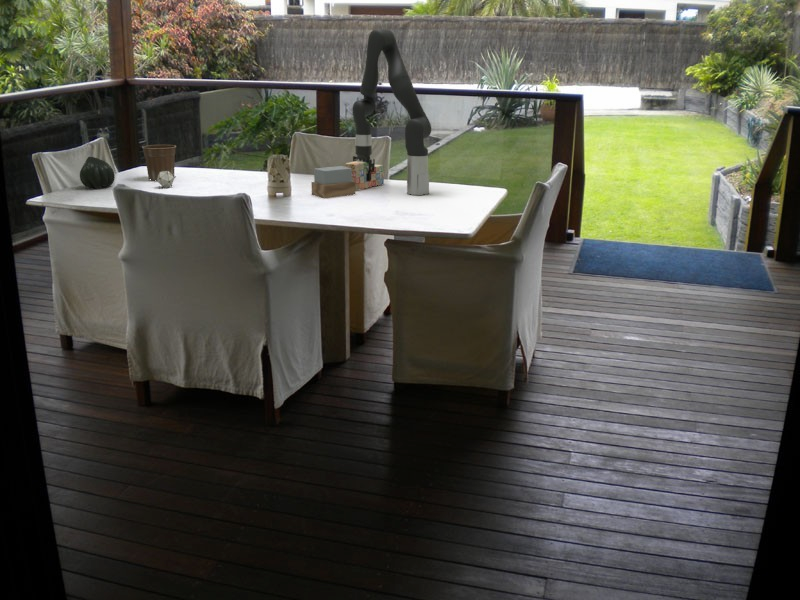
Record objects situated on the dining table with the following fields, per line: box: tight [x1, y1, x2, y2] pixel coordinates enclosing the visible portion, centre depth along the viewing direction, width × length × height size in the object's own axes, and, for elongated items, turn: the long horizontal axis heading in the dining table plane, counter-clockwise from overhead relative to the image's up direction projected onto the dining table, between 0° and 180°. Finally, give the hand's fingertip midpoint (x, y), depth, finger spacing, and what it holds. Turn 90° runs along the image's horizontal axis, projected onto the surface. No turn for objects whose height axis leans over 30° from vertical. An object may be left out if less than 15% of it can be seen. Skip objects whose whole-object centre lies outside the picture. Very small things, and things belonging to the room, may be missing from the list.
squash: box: [79, 156, 116, 190], centre depth 393 cm, size 14×15×15 cm
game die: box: [155, 170, 177, 189], centre depth 394 cm, size 9×8×10 cm
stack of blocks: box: [344, 161, 385, 191], centre depth 397 cm, size 21×6×12 cm, turn 144°
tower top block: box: [313, 165, 352, 185], centre depth 376 cm, size 9×14×6 cm, turn 125°
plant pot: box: [141, 144, 177, 181], centre depth 415 cm, size 16×16×16 cm
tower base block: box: [311, 181, 356, 199], centre depth 378 cm, size 11×16×6 cm
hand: (363, 179), depth 397 cm, fingers closed on stack of blocks, 7 cm apart
